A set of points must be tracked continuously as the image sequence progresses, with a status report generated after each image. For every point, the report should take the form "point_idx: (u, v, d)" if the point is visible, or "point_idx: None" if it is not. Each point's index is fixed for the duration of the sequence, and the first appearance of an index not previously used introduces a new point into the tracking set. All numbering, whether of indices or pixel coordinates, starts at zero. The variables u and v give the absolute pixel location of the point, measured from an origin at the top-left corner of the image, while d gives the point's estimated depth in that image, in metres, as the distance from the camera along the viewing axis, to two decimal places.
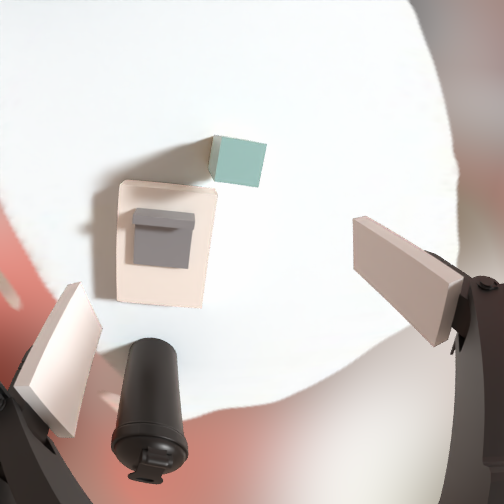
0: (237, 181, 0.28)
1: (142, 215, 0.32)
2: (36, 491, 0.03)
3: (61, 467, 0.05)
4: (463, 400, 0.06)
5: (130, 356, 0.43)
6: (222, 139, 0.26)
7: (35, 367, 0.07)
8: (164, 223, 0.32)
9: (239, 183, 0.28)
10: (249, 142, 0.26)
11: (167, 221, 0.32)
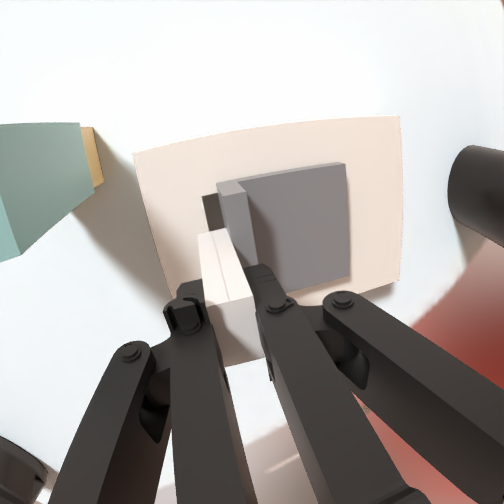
0: None
1: None
2: (208, 434, 0.05)
3: (232, 409, 0.07)
4: (296, 437, 0.06)
5: (477, 231, 0.23)
6: None
7: (224, 288, 0.10)
8: (250, 264, 0.14)
9: None
10: None
11: (242, 259, 0.14)
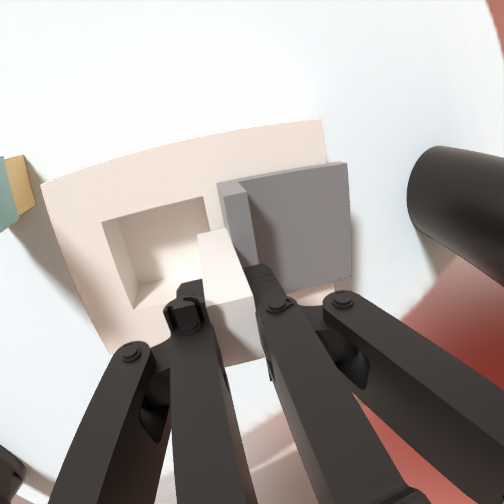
0: None
1: None
2: (208, 434, 0.05)
3: (232, 409, 0.07)
4: (296, 437, 0.06)
5: (442, 244, 0.22)
6: None
7: (224, 288, 0.10)
8: (250, 265, 0.14)
9: None
10: None
11: (243, 260, 0.14)
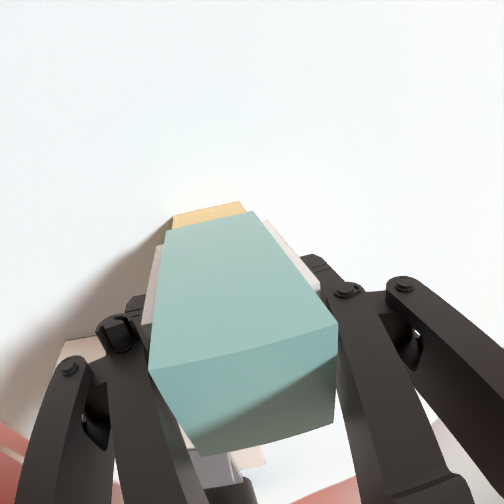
0: (268, 439, 0.08)
1: None
2: (147, 447, 0.05)
3: (174, 422, 0.07)
4: (350, 419, 0.06)
5: None
6: (156, 377, 0.06)
7: None
8: None
9: (276, 439, 0.08)
10: (267, 349, 0.06)
11: None
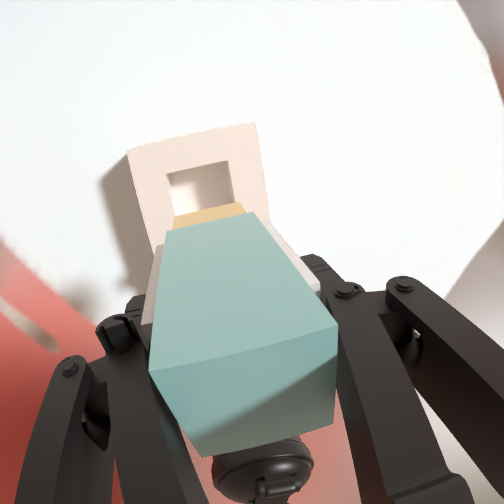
0: (268, 439, 0.08)
1: None
2: (146, 447, 0.05)
3: (173, 422, 0.07)
4: (350, 419, 0.06)
5: None
6: (156, 377, 0.06)
7: None
8: None
9: (276, 439, 0.08)
10: (266, 350, 0.06)
11: None
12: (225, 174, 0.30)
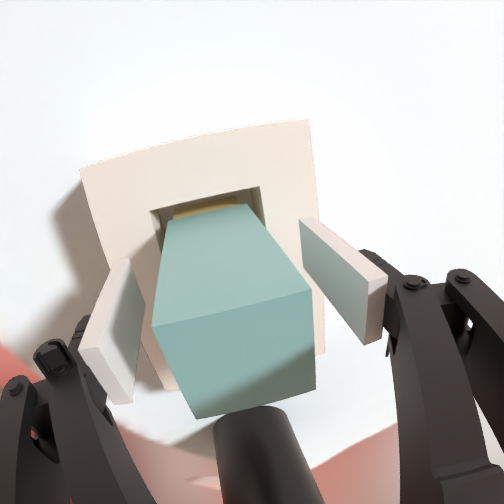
0: (256, 401, 0.09)
1: None
2: (90, 465, 0.04)
3: (117, 440, 0.07)
4: (404, 406, 0.06)
5: (219, 447, 0.25)
6: (158, 333, 0.07)
7: (101, 330, 0.08)
8: None
9: (263, 402, 0.09)
10: (251, 309, 0.08)
11: None
12: (250, 205, 0.19)
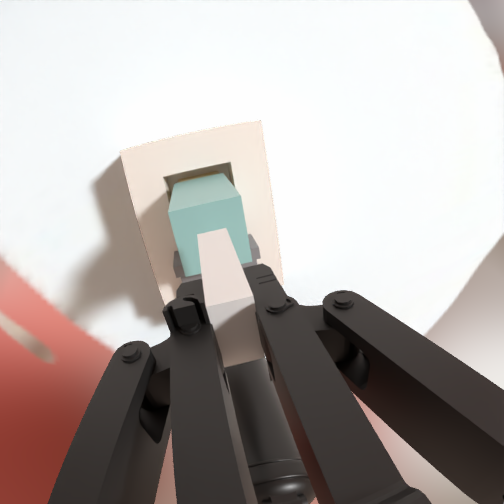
0: None
1: None
2: (208, 434, 0.05)
3: (232, 409, 0.07)
4: (297, 437, 0.06)
5: None
6: (170, 216, 0.17)
7: (224, 288, 0.10)
8: None
9: None
10: (213, 203, 0.17)
11: None
12: (227, 177, 0.28)
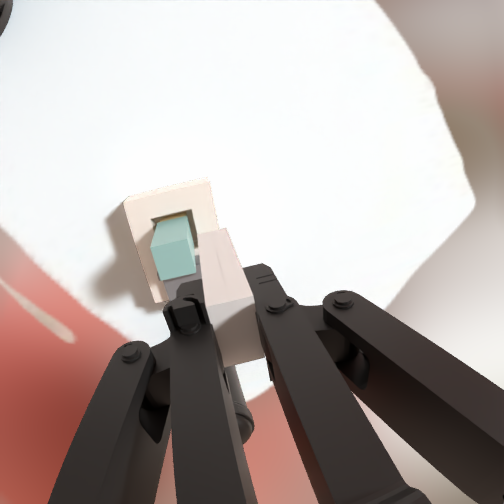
0: (178, 274, 0.34)
1: None
2: (208, 434, 0.05)
3: (232, 409, 0.07)
4: (297, 437, 0.06)
5: None
6: (151, 249, 0.32)
7: (224, 288, 0.10)
8: None
9: (180, 275, 0.34)
10: (173, 243, 0.32)
11: None
12: (192, 215, 0.43)
